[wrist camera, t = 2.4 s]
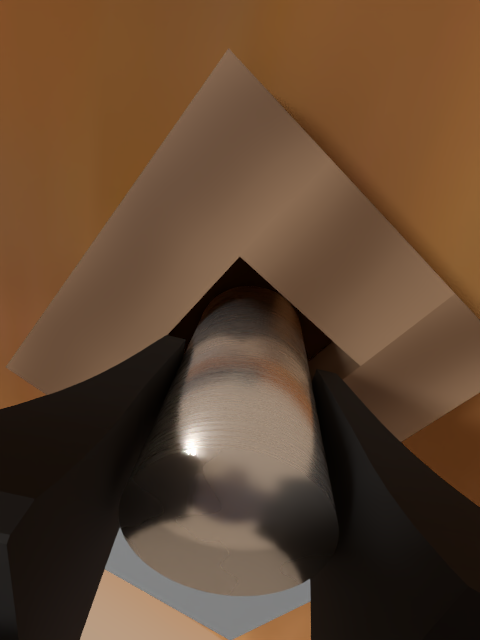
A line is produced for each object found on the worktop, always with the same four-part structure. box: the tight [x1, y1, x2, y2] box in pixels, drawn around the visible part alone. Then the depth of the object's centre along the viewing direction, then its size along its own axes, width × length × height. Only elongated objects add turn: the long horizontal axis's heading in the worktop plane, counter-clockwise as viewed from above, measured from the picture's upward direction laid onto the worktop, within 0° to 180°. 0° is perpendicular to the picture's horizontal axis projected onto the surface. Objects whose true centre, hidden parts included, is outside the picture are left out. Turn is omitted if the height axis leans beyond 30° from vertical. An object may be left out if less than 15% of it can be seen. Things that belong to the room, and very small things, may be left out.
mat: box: [105, 528, 311, 640], centre depth 19 cm, size 12×10×1 cm
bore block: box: [6, 49, 480, 442], centre depth 12 cm, size 12×12×2 cm
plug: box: [118, 286, 339, 596], centre depth 10 cm, size 4×4×8 cm
